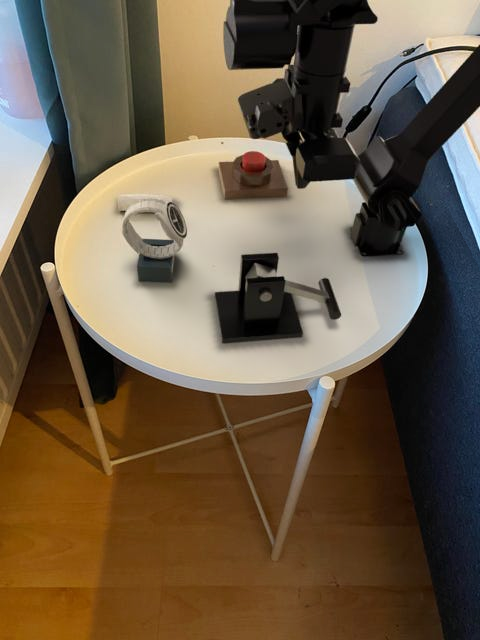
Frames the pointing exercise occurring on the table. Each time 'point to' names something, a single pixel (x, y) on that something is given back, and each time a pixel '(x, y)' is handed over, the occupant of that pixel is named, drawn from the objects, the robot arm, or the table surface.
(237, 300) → the bracket
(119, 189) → the table surface
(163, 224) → the watch
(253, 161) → the button
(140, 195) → the white curved plate
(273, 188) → the button block
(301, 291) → the lever
